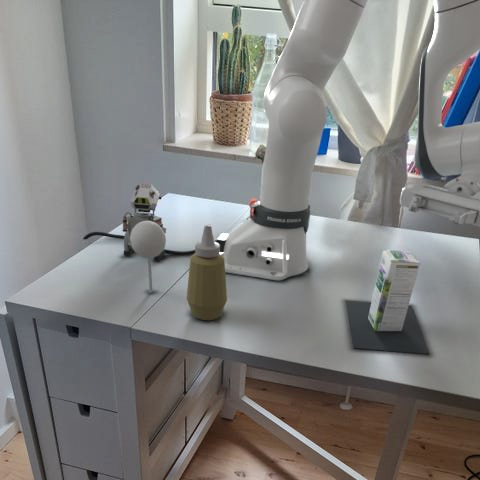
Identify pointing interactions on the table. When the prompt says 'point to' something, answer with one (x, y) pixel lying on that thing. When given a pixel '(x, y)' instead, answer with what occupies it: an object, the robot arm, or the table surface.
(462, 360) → the table surface
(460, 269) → the table surface
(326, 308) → the table surface
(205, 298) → the squeeze bottle
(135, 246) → the lollipop
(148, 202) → the figurine
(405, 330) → the mat
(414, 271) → the syrup box
